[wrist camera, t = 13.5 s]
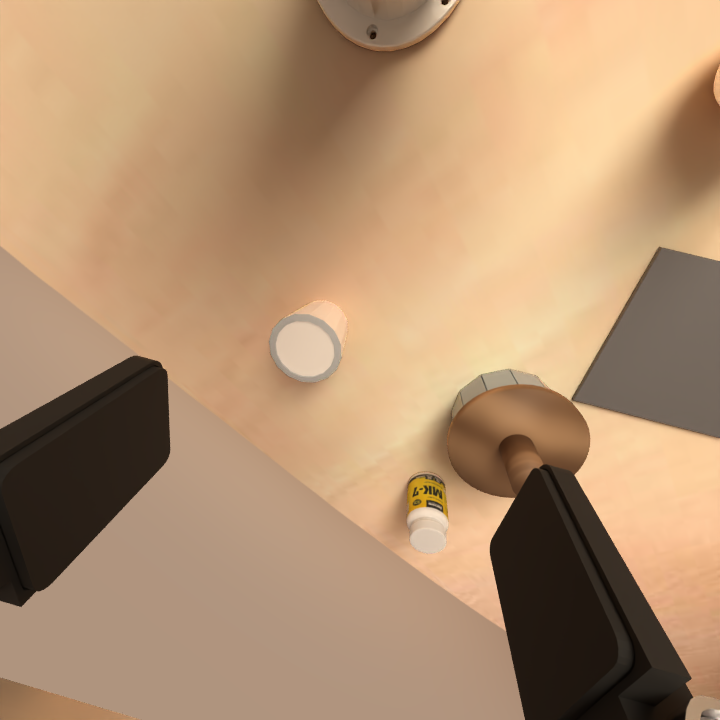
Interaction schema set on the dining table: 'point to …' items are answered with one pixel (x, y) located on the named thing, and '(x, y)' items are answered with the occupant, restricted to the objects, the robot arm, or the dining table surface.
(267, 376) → the dining table surface
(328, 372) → the white cup
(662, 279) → the mat
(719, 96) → the air blower
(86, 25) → the dining table surface
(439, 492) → the supplement bottle
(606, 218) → the dining table surface
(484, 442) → the lid
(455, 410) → the bowl
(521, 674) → the robot arm
